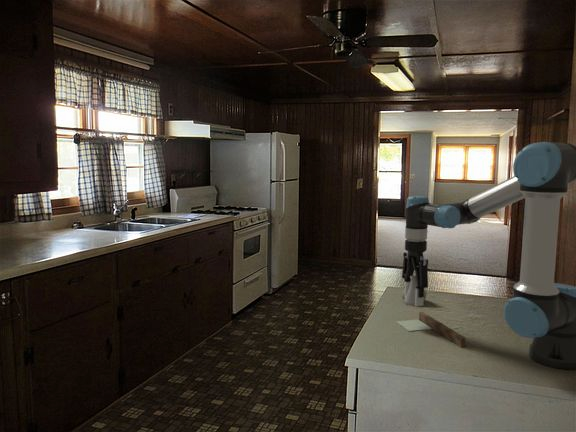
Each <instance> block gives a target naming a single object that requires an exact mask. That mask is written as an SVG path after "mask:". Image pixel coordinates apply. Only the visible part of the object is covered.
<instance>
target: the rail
mask: <svg viewBox="0 0 576 432" xmlns="http://www.w3.org/2000/svg"><path fill="white" fill-rule="evenodd" d="M418 314H419V315H418V316H419V317H418V320H420V321H421V322H423V323H424V324H426V325H427V326H429V327H430V328H432V329H433V331H435V332H437V333H438V334H440V335H441V336H443V337H444V338H446V339H448V340H449V341H451V342H453V343H454V344H455V345H457V346H458V347H460V348H464V347H466V337H465V336H463V334H460V333H459V332H456V331H455V330H453V329H452V328H450V327H449V326H447V325H445V324H444V323H442V322H440V321H439V320H437V319H435V318H434V317H432V316H430V315H428V314H427V313H425V312H423V311H421V312H420V311H419V312H418ZM432 329H431V330H432Z"/></svg>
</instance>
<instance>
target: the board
mask: <svg viewBox="0 0 576 432" xmlns="http://www.w3.org/2000/svg"><path fill="white" fill-rule="evenodd" d="M395 323H396V324H397V325H399V326H400V327H402V328H403V329H404V330H406V331H407V332H409V331H410V332H417V331H429V330H432V328H431V327H429V326H427V325H426V324H424V323H423V322H421V321H420V320H419V319H410V320H408V319H406V320H398V321H397V320H396V321H395Z"/></svg>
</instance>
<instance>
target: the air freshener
mask: <svg viewBox="0 0 576 432" xmlns="http://www.w3.org/2000/svg"><path fill="white" fill-rule="evenodd" d="M410 282H411V281H410ZM401 297H402V298H401V299H402V300H403V301H404V300H405V288H403V290H402V292H401ZM426 298H427V291H426V289H424V296H423V302H424V303H425V301H426Z"/></svg>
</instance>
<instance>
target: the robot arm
mask: <svg viewBox="0 0 576 432" xmlns="http://www.w3.org/2000/svg"><path fill="white" fill-rule="evenodd" d="M512 166H513V168H512V171H513V176H511V177H510V178H508V179H506V180H504V181H501V182H500V183H498V184H496V185H494V186H491V187H489V188H488V189H486V190H483V191H482V192H479V193H478V194H475V195H474V196H471V197H469V198H468V199H466V200H463V201H461V202H453V203H443V204H440V203H430V201H429V198H428V196H426V195H425V196H424V195H410V196H408V197H407V199H406V206H405V231H404V236H405V237H404V239H405V240H404V250H405V251H407V252H402V253H403V254H402V255H403V261H402V262H403V263H402V272H401V278H402V279H403V281H404V289H405V297H406V295H407V293H408V290H409V287H410V283H411V282H410V281H411V278H410V276H414V273H415V276H416V281H417V287H415V288H416V296H415V306H414V307H424V304H423V296H424V290H425V289H426V288H428V287H429V280H428V279H429V276H428V274H429V271H428V266H429V260H428V258H427V259H425V258H424V253H425V252H426V251H427V250H428V249H427V248H428V246H427V245H428V241H427V239H428V226H432V227H438V228H442V229H455V228H456V226H458V225H470V224H473V223H476V222H478V221H480V219H482V218H483V217H486V216H487V215H490V214H491V213H494V212H496V211H498V210H501V209H503V208H505V207H507V206H510V205H512V204H514V203H516V202H519V201H521V200H523V199H525V200H524V213H523V214H524V215H523V216H524V217H523V228H522V242H521V244H522V246H521V257H520V272H519V281H518V282H516V283H515V284H514V285H513V290H512V298H510V299H509V300H508V301H507V302H506V304H505V305H504V308H503V309H504V310H503V315H504V320H505V322H506V324H507V325H508V327H510V329H511V330H512V331H513V332H514V333H515V334H516V335H518V336H521V337H523V338H526V339H532V342H531V344H529V348H528V356H529V357H530V359H531V360H533V361H535V362H536V363H538V364H540V365H544V366H546V367H551V368H556V369H562V370H563V369H564V370H576V285H575V286H574V285H570V284H566V283H561V282H560V283H558V282H555V272H556V259H557V258H556V257H557V247H558V246H557V245H558V237H559V235H558V233H559V223H560V222H559V219H560V209H561V199H562V198H563V197H565V195H567V194H568V187H569V184H570V183H574V181H576V144H573V143H569V142H553V141H552V142H551V141H542V142H539V141H538V142H533V143H530V144H527V145H526V146H524V147H522V149H521V150H520V151H519V152H518V153H517V154H516V156H515V157H514V161H513V164H512Z"/></svg>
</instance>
